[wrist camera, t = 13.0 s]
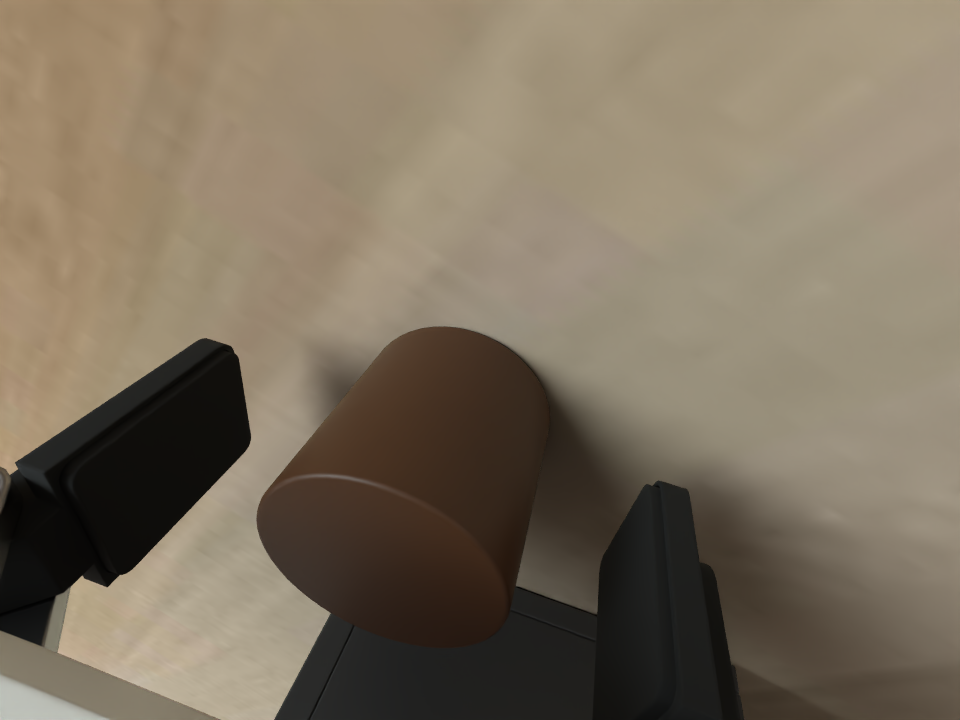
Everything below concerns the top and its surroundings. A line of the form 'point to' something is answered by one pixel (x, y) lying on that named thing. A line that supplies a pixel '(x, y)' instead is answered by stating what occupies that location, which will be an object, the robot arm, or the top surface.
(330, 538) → the cylinder
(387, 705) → the open dark cubby
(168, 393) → the robot arm
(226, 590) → the top surface
